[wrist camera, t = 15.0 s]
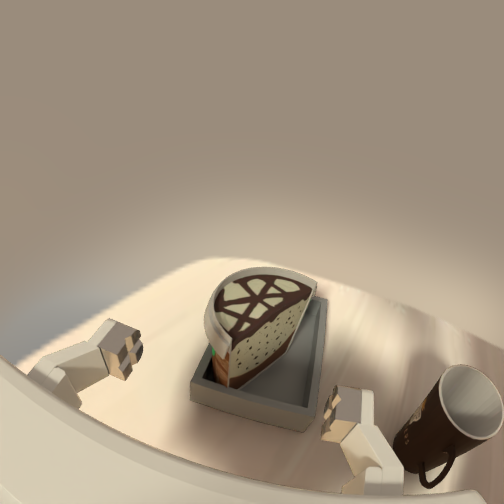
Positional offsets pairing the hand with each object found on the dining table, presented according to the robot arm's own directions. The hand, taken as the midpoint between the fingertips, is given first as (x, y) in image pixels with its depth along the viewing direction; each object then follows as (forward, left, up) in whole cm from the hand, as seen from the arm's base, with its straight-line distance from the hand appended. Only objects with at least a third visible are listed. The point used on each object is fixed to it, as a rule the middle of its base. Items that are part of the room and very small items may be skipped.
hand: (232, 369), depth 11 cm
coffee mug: (-19, -6, -18) cm, 27 cm away
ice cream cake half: (+1, -14, -17) cm, 22 cm away
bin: (-1, -16, -17) cm, 24 cm away
